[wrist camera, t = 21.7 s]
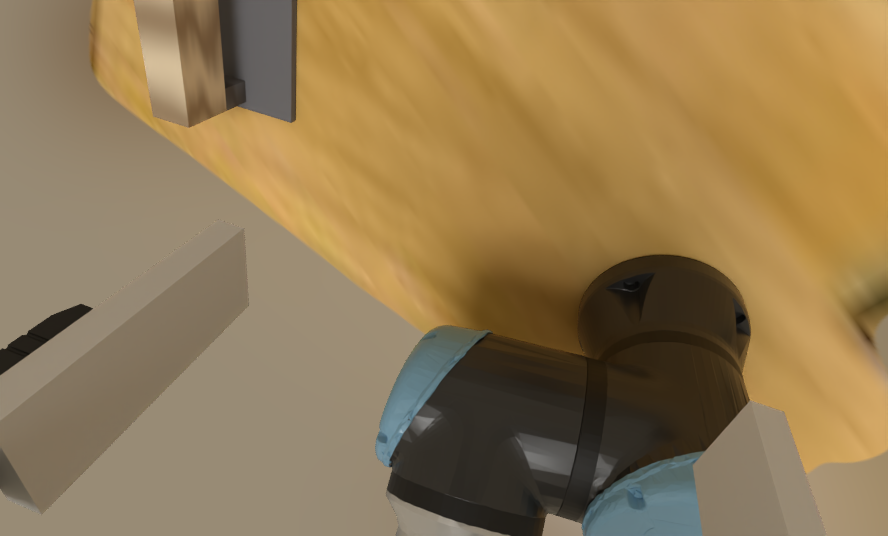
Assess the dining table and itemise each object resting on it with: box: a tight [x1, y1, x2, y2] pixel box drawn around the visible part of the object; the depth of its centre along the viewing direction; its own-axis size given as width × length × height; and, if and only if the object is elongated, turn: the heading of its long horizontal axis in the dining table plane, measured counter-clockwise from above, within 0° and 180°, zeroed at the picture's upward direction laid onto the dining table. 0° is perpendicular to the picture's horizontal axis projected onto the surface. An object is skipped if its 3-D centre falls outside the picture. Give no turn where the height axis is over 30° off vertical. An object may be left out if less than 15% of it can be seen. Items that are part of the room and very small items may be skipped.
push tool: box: [134, 0, 246, 128], centre depth 40 cm, size 16×9×8 cm, turn 169°
